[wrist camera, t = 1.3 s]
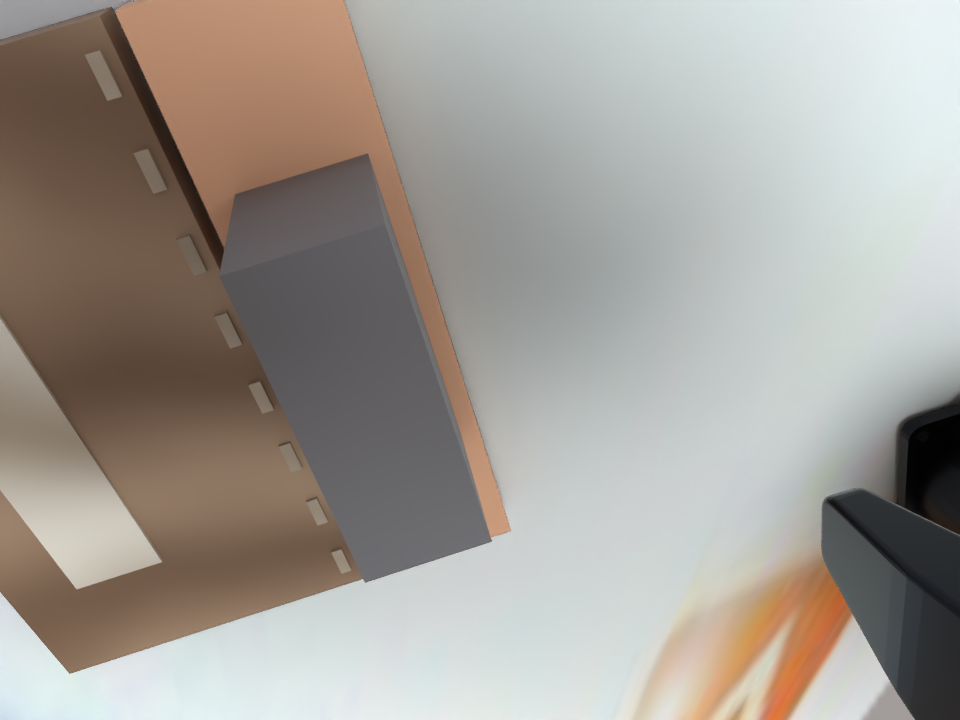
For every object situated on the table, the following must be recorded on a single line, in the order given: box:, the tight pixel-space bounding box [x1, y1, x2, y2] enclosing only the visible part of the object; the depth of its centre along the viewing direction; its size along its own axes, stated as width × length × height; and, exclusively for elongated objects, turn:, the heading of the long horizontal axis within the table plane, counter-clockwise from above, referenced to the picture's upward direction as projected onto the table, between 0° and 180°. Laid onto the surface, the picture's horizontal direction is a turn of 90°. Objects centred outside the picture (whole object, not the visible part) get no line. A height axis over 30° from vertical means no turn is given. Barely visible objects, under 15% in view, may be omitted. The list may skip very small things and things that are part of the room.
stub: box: [115, 0, 511, 582], centre depth 19 cm, size 16×4×5 cm, turn 14°
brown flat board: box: [0, 7, 363, 674], centre depth 20 cm, size 16×9×1 cm, turn 14°
